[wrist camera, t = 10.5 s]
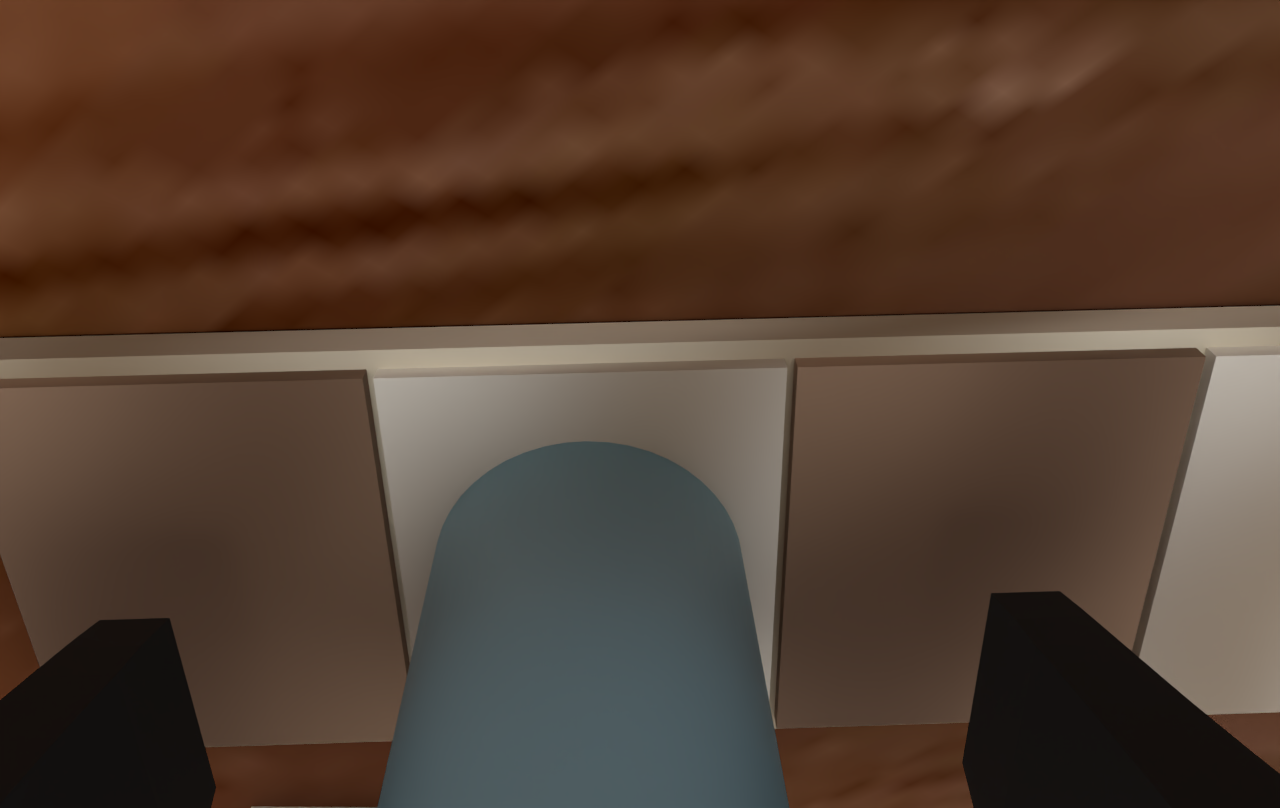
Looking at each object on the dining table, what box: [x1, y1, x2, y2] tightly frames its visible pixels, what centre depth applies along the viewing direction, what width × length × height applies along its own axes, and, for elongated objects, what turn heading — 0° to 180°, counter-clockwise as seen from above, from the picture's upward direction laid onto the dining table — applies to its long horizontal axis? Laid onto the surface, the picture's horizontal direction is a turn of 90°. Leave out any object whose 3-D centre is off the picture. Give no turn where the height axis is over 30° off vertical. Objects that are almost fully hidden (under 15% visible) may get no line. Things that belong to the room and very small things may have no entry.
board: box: [0, 306, 1280, 747], centre depth 12 cm, size 16×5×1 cm, turn 91°
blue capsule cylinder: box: [377, 441, 789, 808], centre depth 9 cm, size 3×3×6 cm
